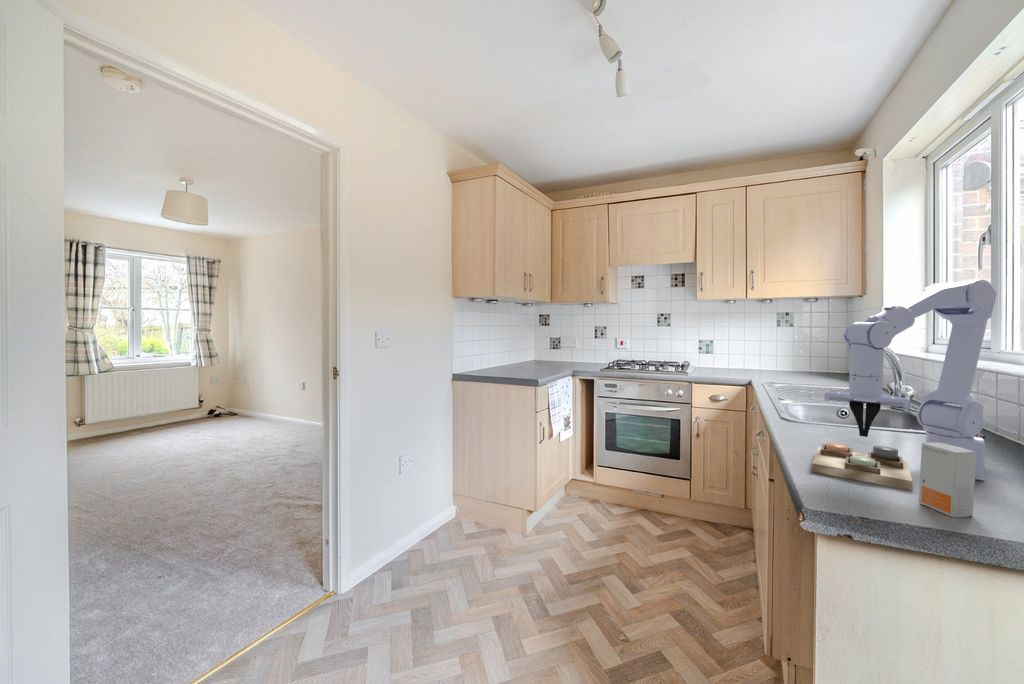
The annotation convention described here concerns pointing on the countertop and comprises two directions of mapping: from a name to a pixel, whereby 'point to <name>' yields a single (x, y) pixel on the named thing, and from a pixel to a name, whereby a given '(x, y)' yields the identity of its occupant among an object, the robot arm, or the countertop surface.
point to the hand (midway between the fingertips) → (863, 435)
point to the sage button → (862, 461)
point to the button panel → (863, 468)
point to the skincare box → (947, 479)
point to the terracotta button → (837, 447)
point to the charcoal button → (885, 452)
